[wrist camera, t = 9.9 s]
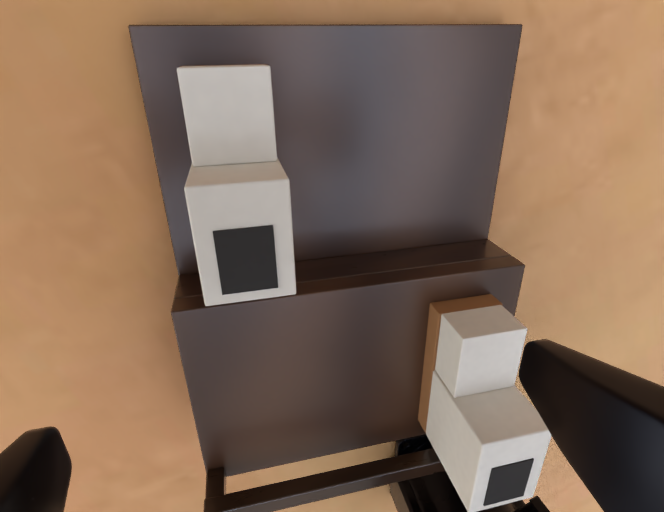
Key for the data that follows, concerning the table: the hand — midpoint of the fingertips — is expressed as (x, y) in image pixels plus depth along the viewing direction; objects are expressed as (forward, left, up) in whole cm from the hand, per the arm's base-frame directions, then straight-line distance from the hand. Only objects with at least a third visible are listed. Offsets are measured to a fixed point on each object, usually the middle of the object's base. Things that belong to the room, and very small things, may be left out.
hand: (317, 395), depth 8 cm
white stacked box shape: (+1, -2, -11) cm, 11 cm away
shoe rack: (-3, +3, -12) cm, 13 cm away
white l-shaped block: (-8, +7, -8) cm, 13 cm away
